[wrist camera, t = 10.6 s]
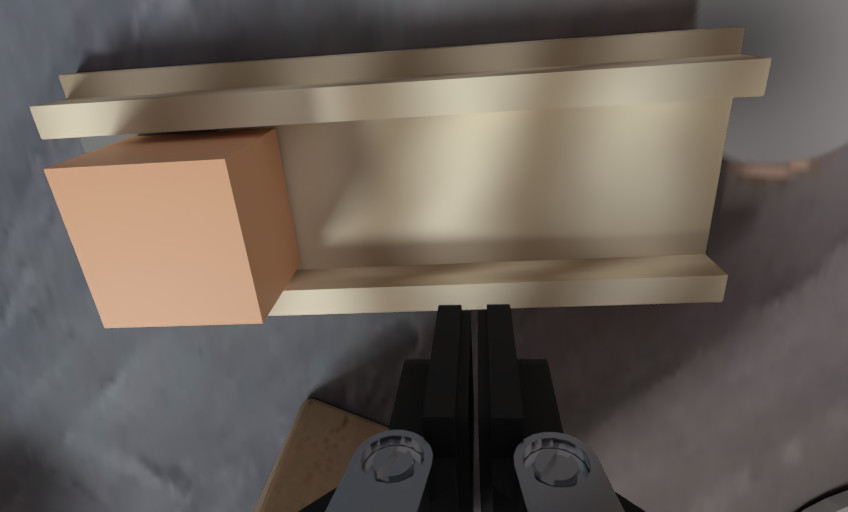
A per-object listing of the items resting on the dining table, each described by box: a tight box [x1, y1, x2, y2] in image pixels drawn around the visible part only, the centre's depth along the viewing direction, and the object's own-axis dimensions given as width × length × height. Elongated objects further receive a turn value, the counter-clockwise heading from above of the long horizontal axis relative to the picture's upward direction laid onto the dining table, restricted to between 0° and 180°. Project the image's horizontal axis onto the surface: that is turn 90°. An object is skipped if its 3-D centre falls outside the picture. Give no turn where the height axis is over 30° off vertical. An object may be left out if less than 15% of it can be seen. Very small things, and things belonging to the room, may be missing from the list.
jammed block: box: [44, 128, 301, 328], centre depth 20 cm, size 6×6×5 cm
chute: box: [30, 27, 771, 316], centre depth 21 cm, size 26×11×3 cm, turn 94°
